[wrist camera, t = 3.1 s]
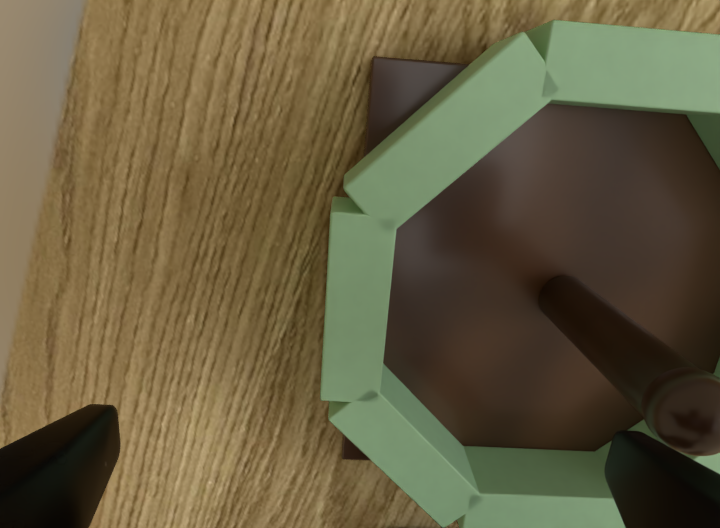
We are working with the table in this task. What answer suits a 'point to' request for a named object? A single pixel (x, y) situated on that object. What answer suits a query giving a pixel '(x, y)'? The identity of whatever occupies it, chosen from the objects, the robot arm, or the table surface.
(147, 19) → the table surface
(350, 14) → the table surface
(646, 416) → the stacking stand
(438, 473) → the ring
